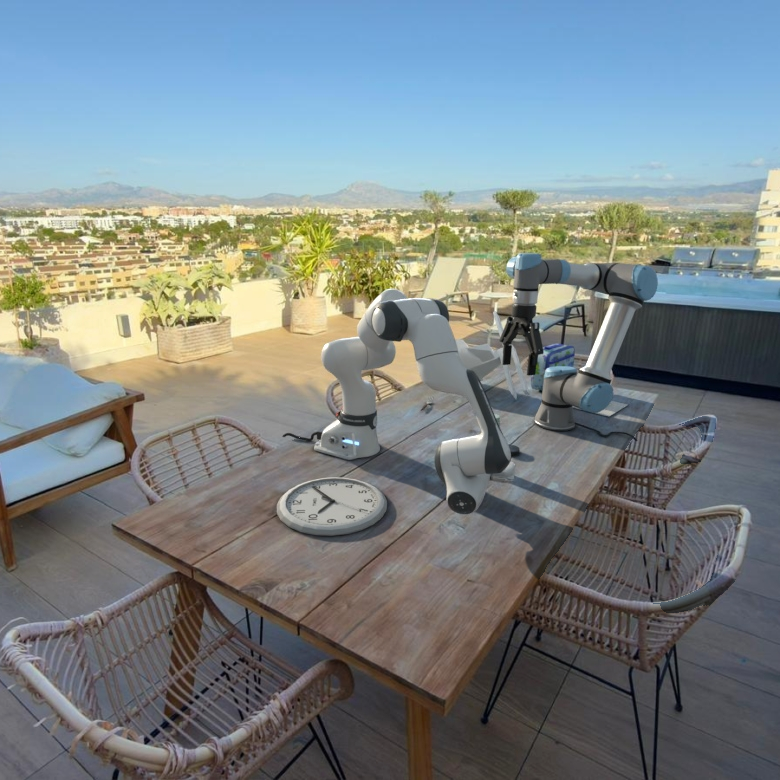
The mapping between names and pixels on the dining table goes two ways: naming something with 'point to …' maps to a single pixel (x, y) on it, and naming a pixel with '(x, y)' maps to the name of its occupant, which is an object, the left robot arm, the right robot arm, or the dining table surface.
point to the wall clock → (331, 506)
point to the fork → (427, 403)
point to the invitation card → (611, 408)
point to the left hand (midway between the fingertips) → (482, 454)
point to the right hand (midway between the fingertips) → (518, 369)
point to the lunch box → (552, 362)
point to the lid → (514, 450)
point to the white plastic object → (490, 360)
